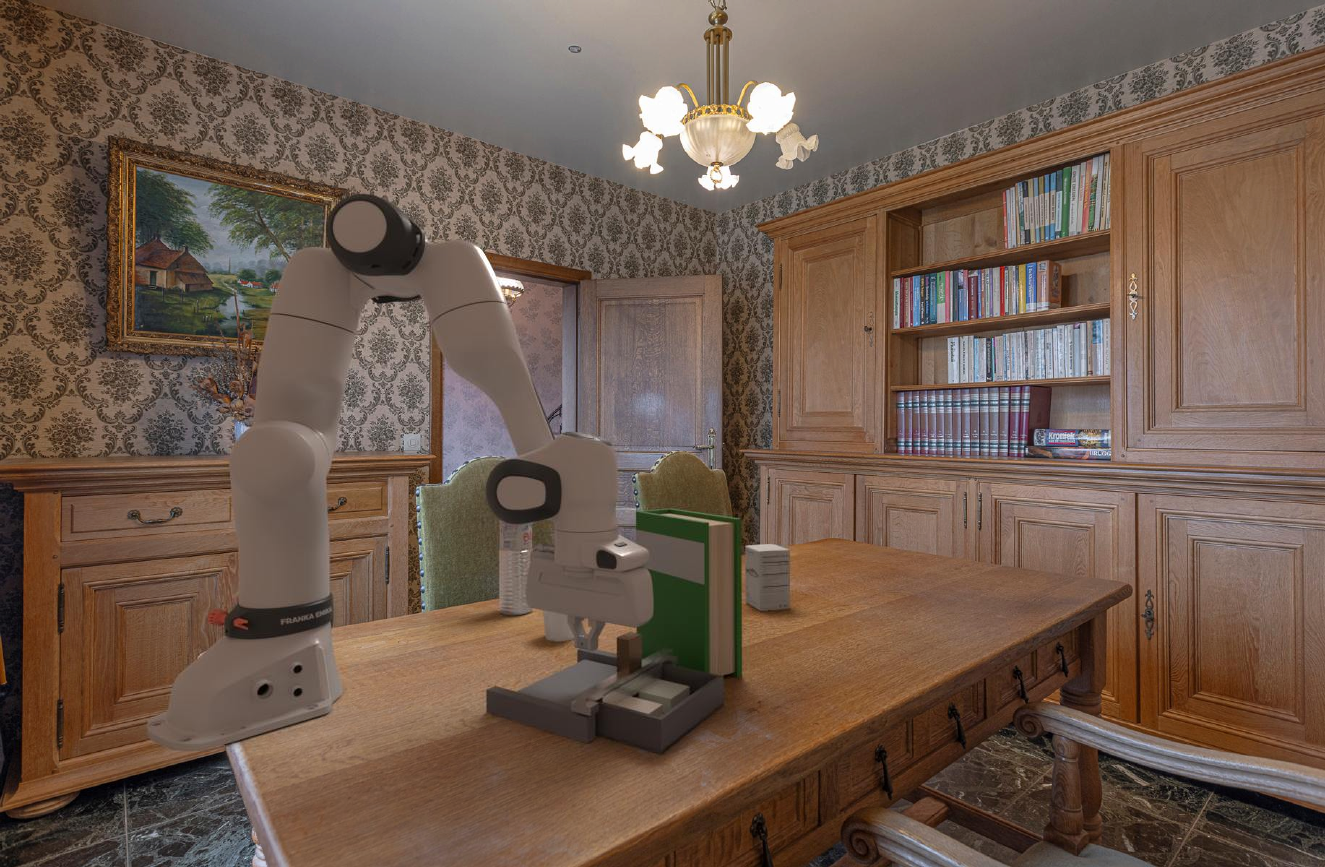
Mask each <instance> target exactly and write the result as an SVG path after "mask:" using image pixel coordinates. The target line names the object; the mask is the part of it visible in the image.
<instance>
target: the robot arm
mask: <svg viewBox="0 0 1325 867" xmlns="http://www.w3.org/2000/svg"><path fill="white" fill-rule="evenodd" d="M325 236H326V239H327V243H328V246H329V248H327V247H321V246H310V247H304V248H301V249H299V250H297V251H296V252H294V253H293V254H292V255H291V256H290V258H289V260H288V263H287V264H286V267H285V268H284V271H283V272H282V274H281V278H280V280H279V282H278V285H277V288H276V291H275V295H274V297H273V300H272V304H271V308H270V312H269V316H268V321H267V325H266V330H265V334H264V340H263V343H262V348H261V353H260V356H259V357H260V358H259V362H258V366H257V371H256V374H257V378H256V393H255V402H254V410H253V418H252V423H251V427H250V428H247V430H245V431H243V433H242V434H240V435H239V437H238V438H237V439H236V441H235V442H234V444H233V446H232V448H231V451H230V453H229V458H228V469H229V478H230V491H231V499H232V510H233V519H234V523H235V524H234V525H235V530H236V531H235V532H236V538H237V547H238V548H237V550H238V603H236V604H235V606H234V607H233V609H231V611H230V612H228V611H226V610H223V609H219V608H215V609H213V610H211V611H210V612H209V614H208V615H207V618H206V619H207V623H209V624H210V625H213V626H216V627H223V626H224V629H223V630H224V634H223V635H222V636H221V638H219V639H218V640H217V641H216V642H214V644H213V645H211V646H210V647H209V648H208V649H207V650H205V652H203V653H202V654H201V655H200V656H198V658H196V659H195V660H194V661H193V662H192V663H190V664H189V665H188V666H187V667H186V668H184V669H183V670H182V671H181V672H179V674H178V675H177V676H176V678H175V679H174V681H173V684H172V687H171V691H170V696H169V701H168V707H167V711H166V712H165V711H164V712H163V713H160V714H157V715H155V716H152V717H151V718H149V720H148V721H147V723H146V730H145V733H146V736H147V738H148V740H150V741H152V742H153V743H155V744H156V745H159V746H160V747H163V748H167V749H169V750H174V751H181V752H202V751H206V750H210V749H213V748H216V747H221V746H223V745H226V744H230V743H234V742H236V741H240V740H243V739H246V738H251V737H253V736H257V735H260V734H263V733H267V732H271V731H274V730H277V729H280V728H283V727H284V728H285V727H287V726H291V725H294V724H296V723H299V722H302V721H303V722H304V721H306V720H307V721H308V720H310V719H312V718H317V717H320V716H324V715H326V714H328V713H330V712H331V710H332V709H333V703H335V701H336V700H337V699H339V698H340V696H342V695H343V692H344V686H343V684H342V681H341V678H340V675H339V671H338V667H337V662H336V658H335V651H334V644H333V643H334V642H333V635H332V630H333V626H334V620H335V619H334V618H335V617H334V616H335V614H334V611H335V609H334V594H333V593H332V592H331V590H330V589H331V587H330V584H331V582H330V580H331V575H330V574H331V573H330V572H331V570H330V568H331V565H330V564H331V563H330V560H331V558H330V557H331V555H330V551H331V550H330V546H331V544H330V531H329V515H328V514H329V513H328V499H327V498H328V495H327V494H328V493H327V490H328V489H327V476H328V475H329V473H330V470H331V467H332V462H333V458H334V457H333V456H334V452H335V448H336V447H335V445H336V441H337V436H338V432H339V425H340V420H341V414H342V409H343V408H342V407H343V402H344V398H345V397H344V396H345V390H346V385H347V380H348V377H349V376H348V375H349V371H350V365H351V361H352V355H353V353H354V352H353V351H354V348H355V344H356V343H355V342H356V338H357V337H356V336H357V331H358V326H359V322H360V318H361V315H362V314H361V313H362V310H363V309H364V306H365V305H366V304H367V302H369V301H370V300H371V301H373V302H374V303H376V304H379V305H382V304H390V303H409V302H410V303H411V302H417V301H420V300H421V301H423V303H424V306H425V309H426V312H427V314H428V318H429V322H430V324H431V328H432V331H433V334H434V338H435V340H436V343H437V346H438V347H439V348H438V349H439V350H440V352H441V353H442V356H443V358H444V360H445V361H446V362H447V364H448V366H449V368H450V369H451V370H452V371H453V372H454V373H455V374H457V375H458V376H459V377H461V378H462V379H464V380H466V381H467V382H468V383H470V384H471V385H473V386H475V387H476V388H477V389H479V390H480V391H481V392H482V393H484V394H485V395H486V396H487V397H488V398H489V399H490V400H491V401H492V402H493V403H494V405H495V407H497V409H498V411H499V414H500V415H501V417H502V420H503V422H504V425H505V427H506V429H507V433H508V435H509V438H510V440H511V442H512V445H513V448H514V450H515V453H516V455H517V456H513V457H510V458H508V459H506V460H503V461H502V462H499V463H498V464H497V465H496V466H495V467H494V468H493V469H492V470H491V471H490V473H489V475H488V477H487V479H486V484H485V499H486V502H487V505H488V507H489V509H490V511H491V513H492V514H493V515H494V516H495V517H496V518H497V519H498V520H499V519H500V520H502V521H504V522H506V523H509V524H515V525H528V524H532V525H533V524H534V523H539V522H543V521H552V522H553V524H554V534H553V535H554V540H553V542H554V544H547V543H538V544H537V545H536V546H535V547H534V548H533V547H532V549H533V550H532V551H531V553H530V565H529V569H528V575H527V582H526V595H525V598H526V602H527V604H528V606H529V607H530V608H532V610H533V609H535V610H538V611H539V610H540V611H543V610H544V611H549V612H554V613H559V614H565V615H567V623H568V625H569V627H570V629H571V631H572V633H573V635H574V639H573V642H574V643H573V646H574V648H576V649H584V650H588V651H594V650H596V649H597V650H598V648H599V637H600V635H601V633H602V631H603V630H604V628H605V626H606V623H607V624H611V625H616V626H617V625H618V626H622V627H623V626H624V627H628V628H633V629H636V628H637V627H640V626H642V625H644V624H646V623H648V622H649V621H650V619H651V618H652V616H653V586H652V579H651V575H650V573H649V571H648V570H647V569H646V568H645V567H644V566H643V565H646V564H648V563H649V558H650V554H649V551H648V550H647V549H646V548H644V547H642V546H640V545H638V544H636V542H634V541H633V540H632V541H631V540H630V539H628V538H626V537H624V536H623V535H621V534H619V522H618V518H617V512H616V510H617V509H616V508H617V503H618V500H619V471H618V470H619V469H618V460H617V453H616V450H615V447H614V446H613V444H612V443H611V441H610V440H608V439H607V438H605V437H602V436H600V435H595V434H591V433H585V432H578V431H565V432H562V433H560V434H559V435H558V436H557V437H555V434H554V432H553V429H552V427H551V424H550V421H549V419H548V417H547V414H546V412H545V411H546V410H545V409H544V406H543V403H542V400H541V398H540V396H539V394H538V392H537V389H536V386H535V383H534V382H533V379H532V376H531V374H530V370H529V368H528V364H527V362H526V359H525V355H524V353H523V350H522V347H521V343H520V340H519V336H518V333H517V331H516V327H515V323H514V320H513V317H512V314H511V311H510V307H509V305H508V301H507V298H506V297H505V294H504V291H503V289H502V286H501V284H500V281H499V278H498V277H497V275H496V273H495V271H494V269H493V267H492V265H491V263H490V261H489V260H488V258H487V256H486V254H485V253H484V251H483V250H482V249H481V247H479V246H478V245H476V244H475V243H473V242H471V241H468V240H463V239H451V240H445V241H441V242H433V241H431V240H430V239H428V237H427V236H426V234H425V231H424V229H423V228H421V227H420V226H419V224H417V223H416V221H414V220H412V218H410V217H409V216H408V215H407V214H406V212H404V211H403V210H402V209H401V208H400V207H398V206H396V205H395V204H394V203H392V202H390V201H389V200H386V199H385V198H383V197H380V196H376V195H373V194H370V193H356V194H353V195H349V196H346V197H345V198H343V199H341V200H340V201H339V202H338V203H337V204H335V205H334V207H333V208H332V209H331V211H330V213H329V214H328V216H327V220H326V224H325ZM585 619H586V620H587V623H588V624H587V625H588V627H589V628H590V631H589V633H587V632H586V630H585V627H584V624H583V621H585Z"/></svg>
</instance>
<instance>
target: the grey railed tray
mask: <svg viewBox="0 0 1325 867" xmlns="http://www.w3.org/2000/svg"><path fill="white" fill-rule="evenodd" d="M576 650H577V652H576V654H577V656H576V658H577V659H576V660H577V662H576V663H574V664H572V665H570V666H568V667H566V668H563V669H561V670H558V671H557V672H555V673H553V674H550V675H549V676H546V677H544V678H541V679H539V680H538V681H535V682H533V683H531V684H529V685H527V686H525V687H523V688H521V689H518V690H517V691H516V690H512V689H508V688H504V687H501V686H498V685H497V686H496V685H494V686H492V687H490V688H487V689H486V692H485V693H486V694H485V695H486V696H485V697H486V705H485V706H486V709H485V710H486V711H485V712H486V713H487V714H491V715H494V716H496V717H497V716H498V717H501V718H504V719H507V720H511V721H513V722H516V723H520V724H522V725H523V724H524V725H526V726H529V727H533V728H536V729H539V730H543V731H545V732H549V733H553V734H555V735H559V736H562V737H564V738H565V737H566V738H569V739H571V740H575V741H577V742H581V743H584V744H589V743H591V742H592V741H593V740H595V739H596V735H595V714H593V715H592V716H589V715H585V714H581V713H578V712H574V711H571V702H573V701H575V700H576V695H577V694H579V693H581V692H583V691H585V690H586V689H588V688H590V687H592V686H594V685H596V684H598V683H600V682H601V681H603V680H605V679H607V678H609V677H611V676H613V675H615V674H616V673H617V652H616V653H615V652H610V651H605V650H602V649H601V650H600V649H598V648H597V649H596V650H594V651H588V650H584V649H579V648H576ZM643 659H644V658H642V660H643Z"/></svg>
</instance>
